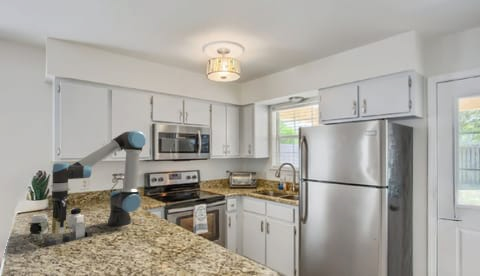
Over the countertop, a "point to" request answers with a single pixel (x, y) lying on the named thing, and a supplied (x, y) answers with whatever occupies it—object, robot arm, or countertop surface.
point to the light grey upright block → (78, 229)
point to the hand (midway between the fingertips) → (58, 232)
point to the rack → (65, 238)
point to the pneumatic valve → (38, 228)
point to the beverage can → (40, 216)
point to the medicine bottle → (74, 217)
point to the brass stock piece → (55, 226)
